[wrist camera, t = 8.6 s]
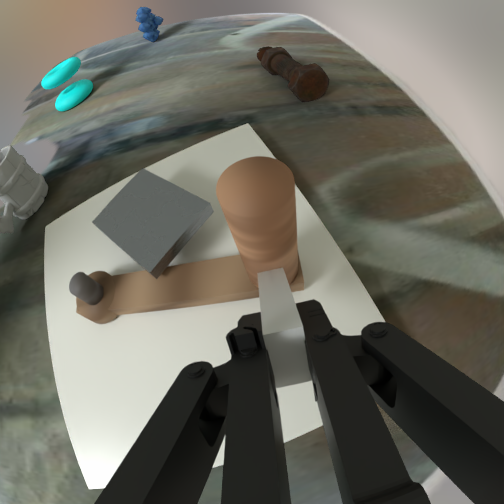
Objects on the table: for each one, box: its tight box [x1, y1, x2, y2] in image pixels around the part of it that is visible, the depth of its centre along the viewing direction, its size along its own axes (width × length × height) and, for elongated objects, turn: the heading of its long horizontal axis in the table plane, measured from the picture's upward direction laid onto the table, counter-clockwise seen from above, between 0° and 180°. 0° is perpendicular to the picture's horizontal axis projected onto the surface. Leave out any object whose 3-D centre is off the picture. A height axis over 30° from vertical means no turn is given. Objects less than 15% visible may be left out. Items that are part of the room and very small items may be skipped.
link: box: [69, 156, 304, 324], centre depth 18 cm, size 19×4×10 cm, turn 96°
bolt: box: [257, 47, 329, 102], centre depth 37 cm, size 6×5×15 cm
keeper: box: [92, 168, 214, 279], centre depth 25 cm, size 9×7×5 cm
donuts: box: [42, 57, 93, 111], centre depth 47 cm, size 10×10×10 cm
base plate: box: [44, 123, 385, 489], centre depth 24 cm, size 28×30×2 cm
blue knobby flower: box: [136, 7, 163, 42], centre depth 55 cm, size 12×7×12 cm, turn 5°
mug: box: [0, 145, 48, 234], centre depth 30 cm, size 8×12×12 cm, turn 176°
